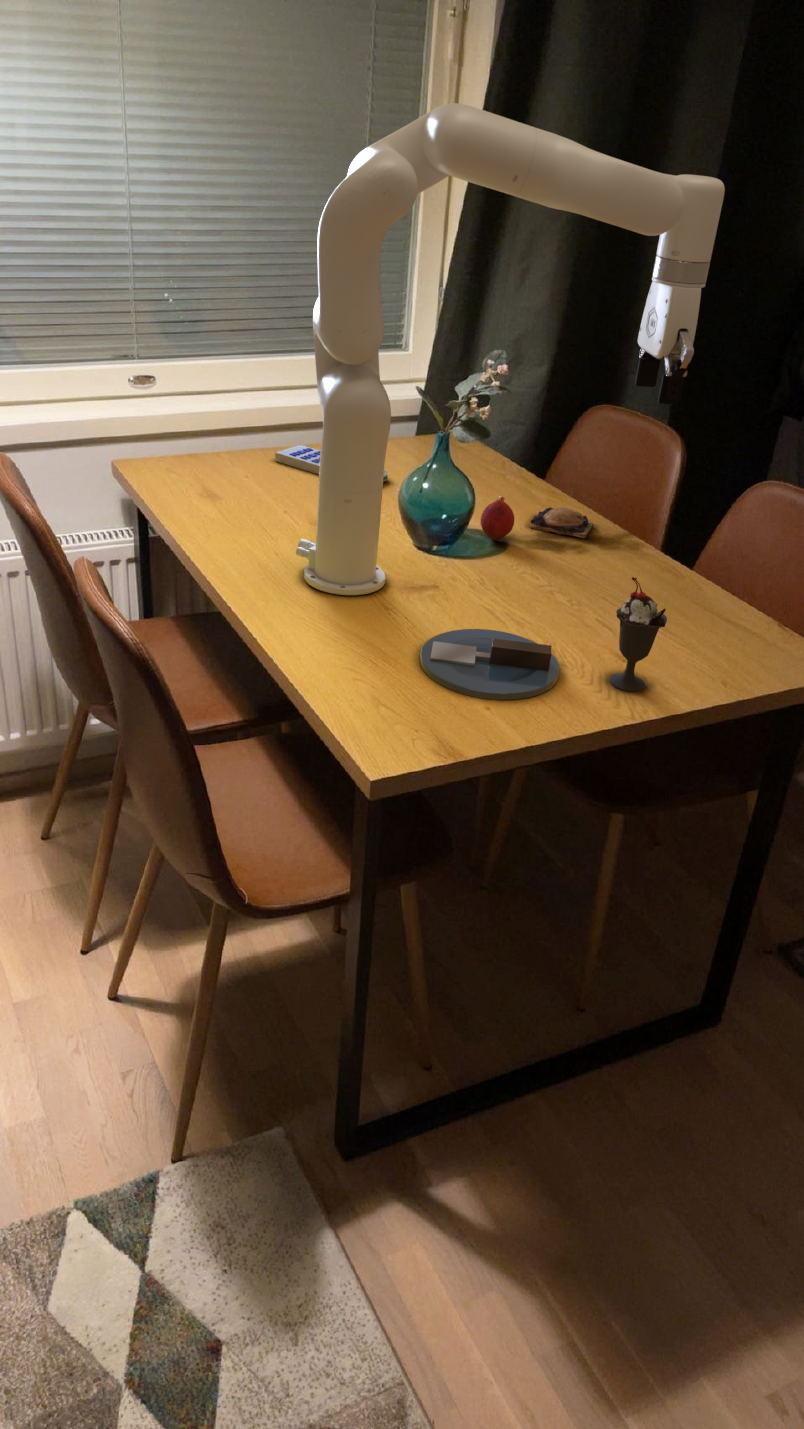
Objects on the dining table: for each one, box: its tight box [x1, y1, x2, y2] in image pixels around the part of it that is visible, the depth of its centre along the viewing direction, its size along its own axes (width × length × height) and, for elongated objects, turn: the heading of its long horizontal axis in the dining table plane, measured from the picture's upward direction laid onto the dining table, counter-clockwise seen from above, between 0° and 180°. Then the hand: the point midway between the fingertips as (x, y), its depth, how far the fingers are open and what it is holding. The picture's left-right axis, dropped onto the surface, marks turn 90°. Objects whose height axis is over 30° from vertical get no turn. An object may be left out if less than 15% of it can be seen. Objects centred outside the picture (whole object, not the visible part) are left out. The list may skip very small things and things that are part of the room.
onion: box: [480, 495, 515, 542], centre depth 193 cm, size 6×6×8 cm
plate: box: [419, 628, 560, 701], centre depth 153 cm, size 19×19×1 cm
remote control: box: [274, 444, 389, 483], centre depth 220 cm, size 8×23×2 cm, turn 56°
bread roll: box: [528, 506, 594, 539], centre depth 203 cm, size 11×8×4 cm
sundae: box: [608, 576, 668, 692], centre depth 149 cm, size 7×7×15 cm
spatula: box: [430, 638, 552, 671], centre depth 152 cm, size 16×5×3 cm, turn 84°
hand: (656, 394), depth 167 cm, fingers open, 9 cm apart
